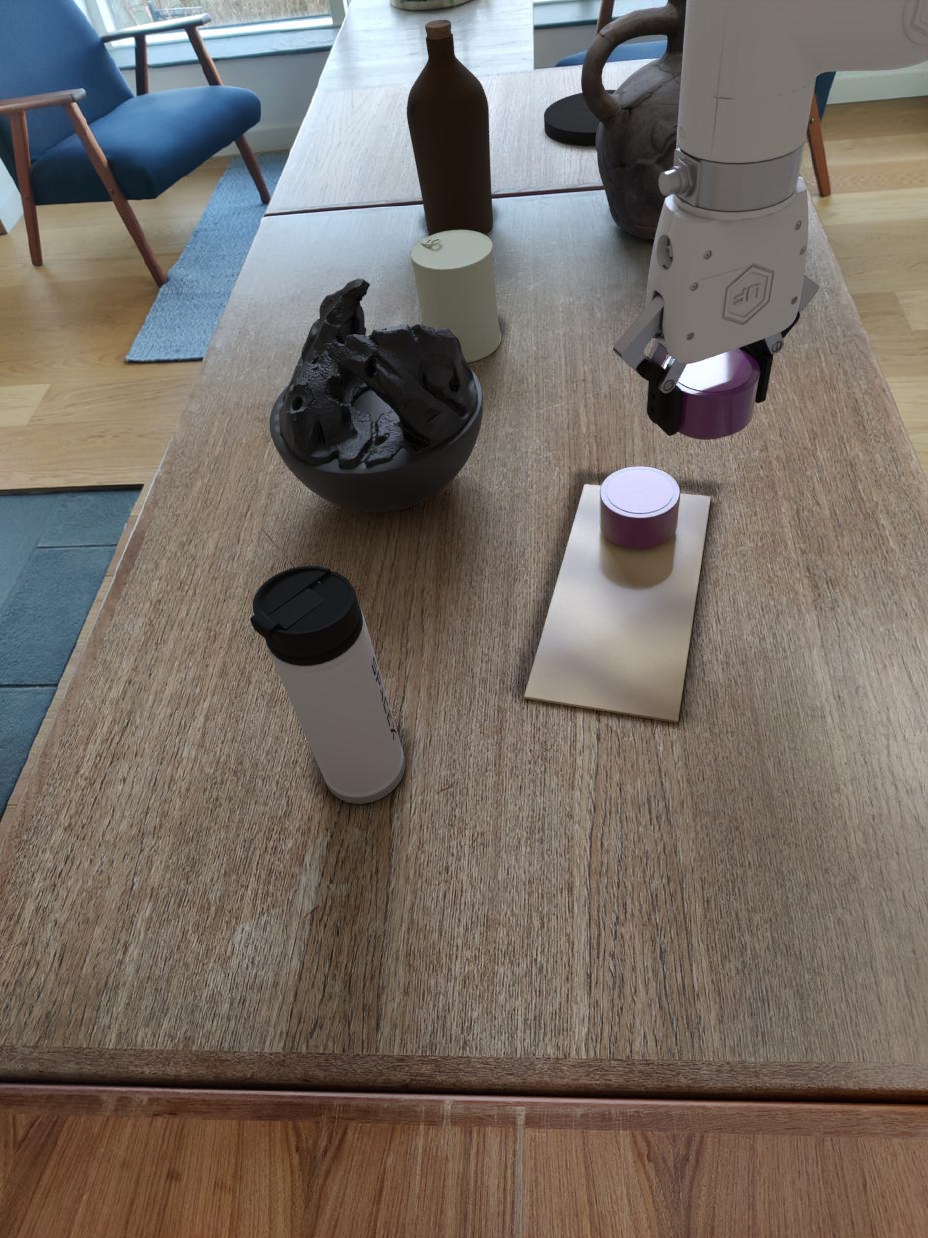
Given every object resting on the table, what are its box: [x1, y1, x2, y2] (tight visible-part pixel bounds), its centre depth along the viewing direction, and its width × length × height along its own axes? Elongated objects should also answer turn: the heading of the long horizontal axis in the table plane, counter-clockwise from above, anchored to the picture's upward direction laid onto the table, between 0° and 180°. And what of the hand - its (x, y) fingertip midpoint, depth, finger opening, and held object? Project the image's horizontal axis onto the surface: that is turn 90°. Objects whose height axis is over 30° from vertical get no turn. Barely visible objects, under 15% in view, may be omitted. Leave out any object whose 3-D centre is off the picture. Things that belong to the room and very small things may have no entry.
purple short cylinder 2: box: [662, 348, 760, 441], centre depth 67 cm, size 7×7×5 cm
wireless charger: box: [543, 89, 617, 147], centre depth 144 cm, size 18×18×2 cm
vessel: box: [580, 0, 687, 240], centre depth 108 cm, size 24×22×30 cm
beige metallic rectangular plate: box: [523, 483, 712, 724], centre depth 77 cm, size 26×12×1 cm, turn 164°
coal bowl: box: [269, 277, 484, 513], centre depth 82 cm, size 20×20×19 cm
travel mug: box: [249, 565, 406, 805], centre depth 60 cm, size 6×7×20 cm
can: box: [410, 230, 502, 364], centre depth 101 cm, size 9×9×12 cm
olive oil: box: [406, 19, 494, 236], centre depth 116 cm, size 11×11×25 cm
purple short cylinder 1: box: [599, 465, 681, 549], centre depth 80 cm, size 7×7×5 cm
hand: (706, 408), depth 68 cm, fingers closed on purple short cylinder 2, 7 cm apart
